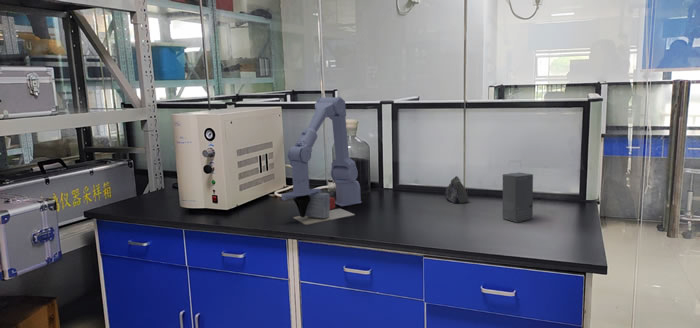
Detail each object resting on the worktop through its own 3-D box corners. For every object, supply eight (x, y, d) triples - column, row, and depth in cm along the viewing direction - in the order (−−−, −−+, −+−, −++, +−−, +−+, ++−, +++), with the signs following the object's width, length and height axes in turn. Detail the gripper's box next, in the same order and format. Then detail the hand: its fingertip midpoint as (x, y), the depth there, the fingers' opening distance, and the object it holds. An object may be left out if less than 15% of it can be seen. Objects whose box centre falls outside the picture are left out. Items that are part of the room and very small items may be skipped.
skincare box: (515, 223, 164) (516, 176, 162) (500, 218, 171) (500, 173, 168) (534, 219, 168) (535, 173, 165) (518, 214, 174) (519, 170, 172)
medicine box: (329, 217, 179) (330, 193, 179) (323, 219, 176) (324, 195, 175) (311, 214, 183) (311, 191, 182) (304, 216, 179) (305, 192, 178)
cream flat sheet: (340, 209, 191) (340, 208, 191) (354, 215, 182) (354, 214, 182) (292, 217, 181) (292, 217, 181) (305, 224, 172) (305, 224, 172)
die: (329, 206, 196) (328, 195, 195) (335, 207, 193) (334, 196, 192) (321, 208, 194) (320, 197, 193) (327, 209, 191) (326, 198, 190)
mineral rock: (447, 195, 206) (447, 171, 205) (473, 197, 202) (473, 173, 200) (439, 202, 195) (439, 178, 193) (466, 204, 190) (466, 179, 189)
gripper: (314, 175, 182) (315, 211, 184) (277, 180, 174) (279, 217, 177) (322, 178, 176) (324, 215, 178) (285, 183, 168) (287, 222, 171)
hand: (302, 216), depth 177 cm, fingers closed
